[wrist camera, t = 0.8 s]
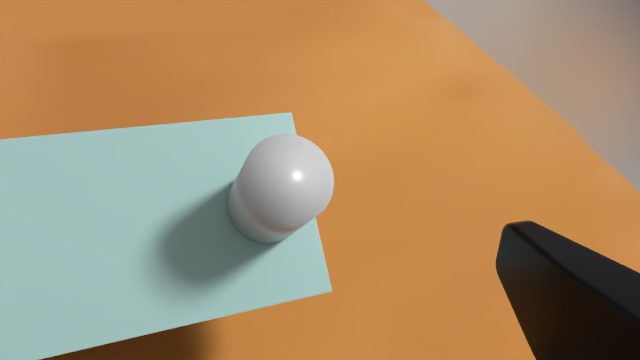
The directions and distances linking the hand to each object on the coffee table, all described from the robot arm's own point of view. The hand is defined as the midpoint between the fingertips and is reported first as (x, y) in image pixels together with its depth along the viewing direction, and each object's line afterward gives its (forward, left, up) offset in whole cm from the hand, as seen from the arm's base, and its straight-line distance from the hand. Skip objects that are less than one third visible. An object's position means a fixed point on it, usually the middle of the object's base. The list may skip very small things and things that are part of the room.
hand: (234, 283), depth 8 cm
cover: (+3, +3, -8) cm, 9 cm away
